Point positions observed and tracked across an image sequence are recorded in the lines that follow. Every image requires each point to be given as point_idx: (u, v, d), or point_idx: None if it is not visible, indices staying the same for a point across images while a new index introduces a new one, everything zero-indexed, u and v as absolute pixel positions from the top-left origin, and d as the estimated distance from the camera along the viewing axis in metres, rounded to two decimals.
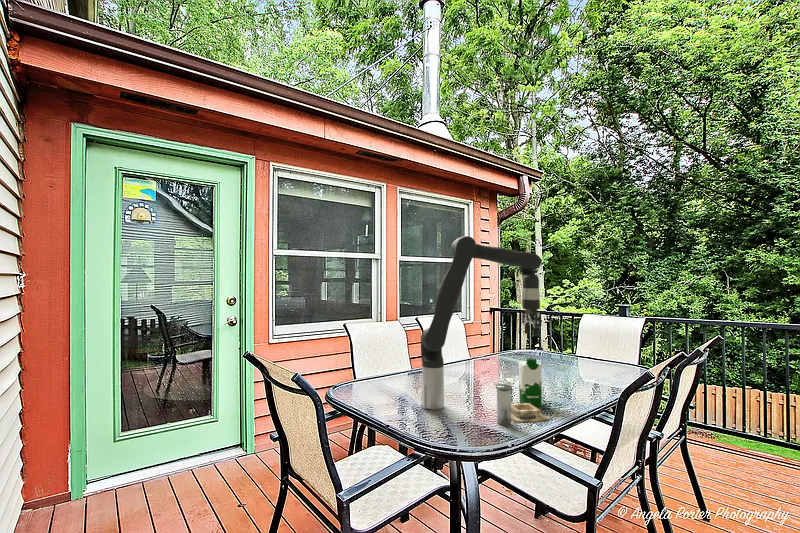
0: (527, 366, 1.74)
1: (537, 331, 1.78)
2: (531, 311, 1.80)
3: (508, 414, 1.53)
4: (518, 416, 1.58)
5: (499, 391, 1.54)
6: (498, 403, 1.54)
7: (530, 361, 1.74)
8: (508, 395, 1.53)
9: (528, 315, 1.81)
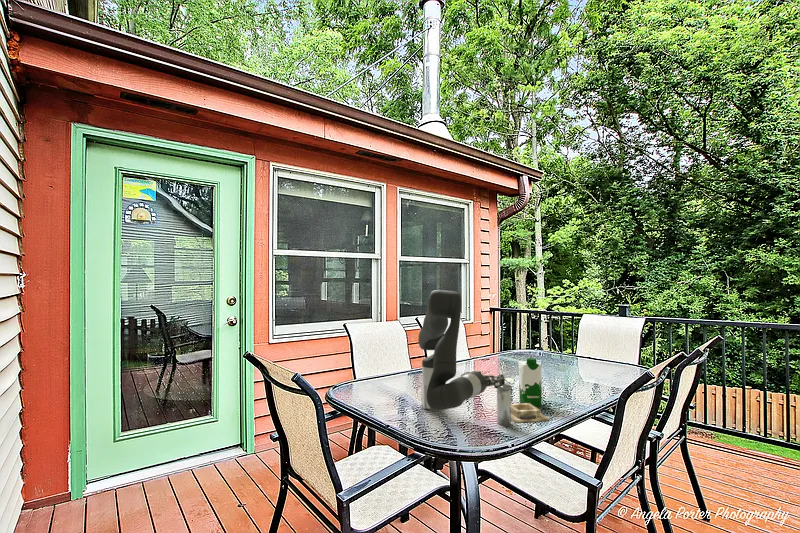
0: (527, 366, 1.74)
1: None
2: None
3: (508, 414, 1.53)
4: (518, 416, 1.58)
5: (499, 391, 1.54)
6: (498, 403, 1.54)
7: (530, 361, 1.74)
8: (508, 395, 1.53)
9: None
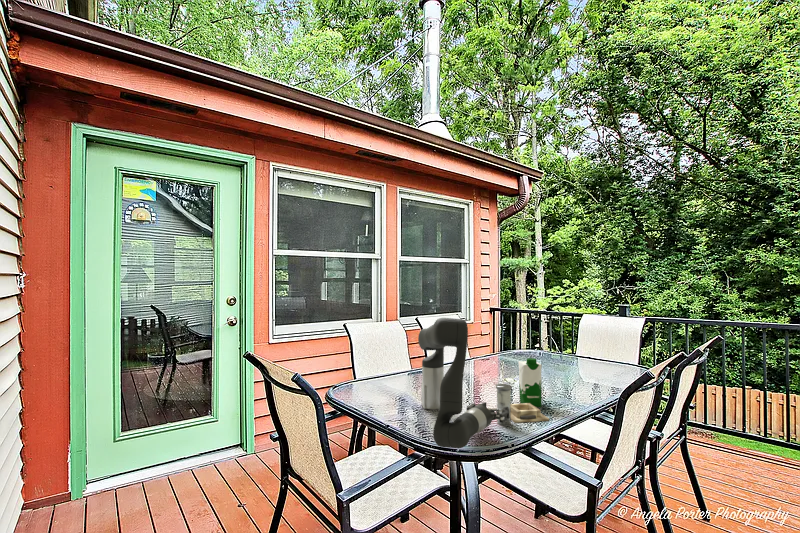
0: (527, 366, 1.74)
1: None
2: None
3: None
4: (518, 416, 1.58)
5: (499, 391, 1.54)
6: (498, 403, 1.54)
7: (530, 361, 1.74)
8: (508, 395, 1.53)
9: None
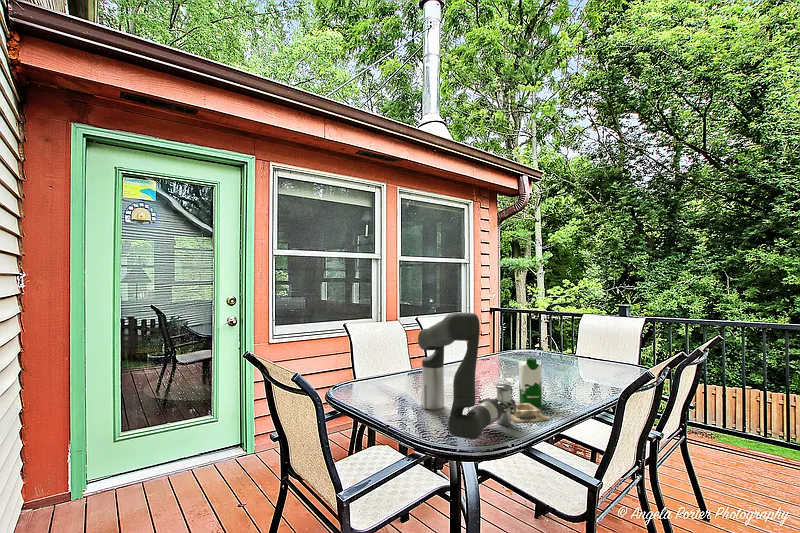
0: (527, 366, 1.74)
1: None
2: None
3: (508, 414, 1.53)
4: (518, 416, 1.58)
5: (499, 391, 1.54)
6: None
7: (530, 361, 1.74)
8: (508, 395, 1.53)
9: None
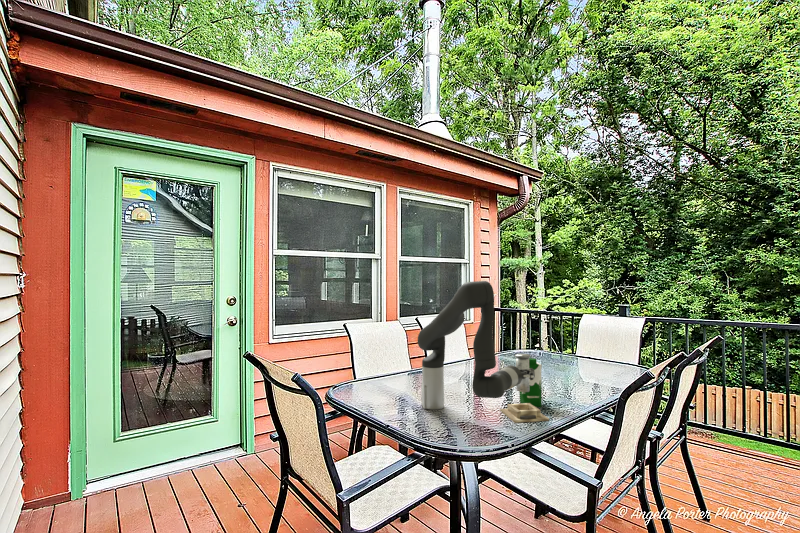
0: None
1: None
2: None
3: (527, 381, 1.61)
4: (518, 416, 1.58)
5: (518, 359, 1.62)
6: None
7: (530, 361, 1.74)
8: (527, 363, 1.61)
9: None
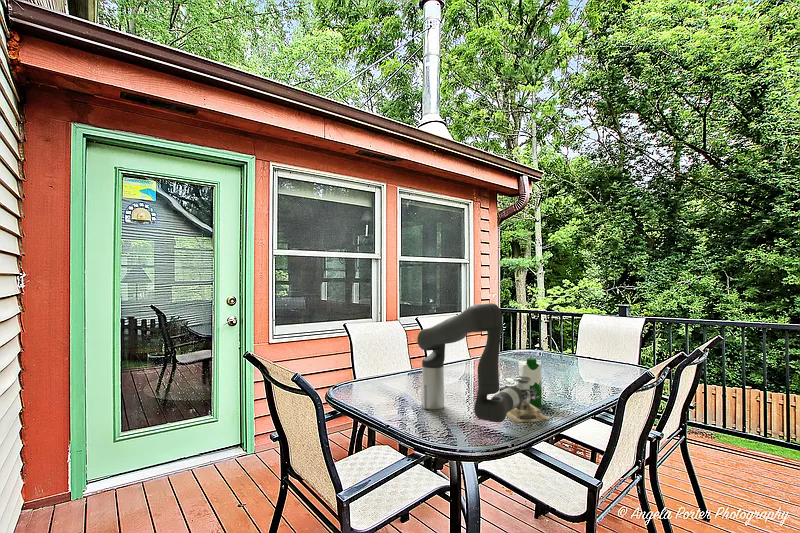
0: (527, 366, 1.74)
1: None
2: None
3: (527, 405, 1.61)
4: (518, 416, 1.58)
5: (519, 383, 1.62)
6: None
7: (530, 361, 1.74)
8: (527, 387, 1.61)
9: None
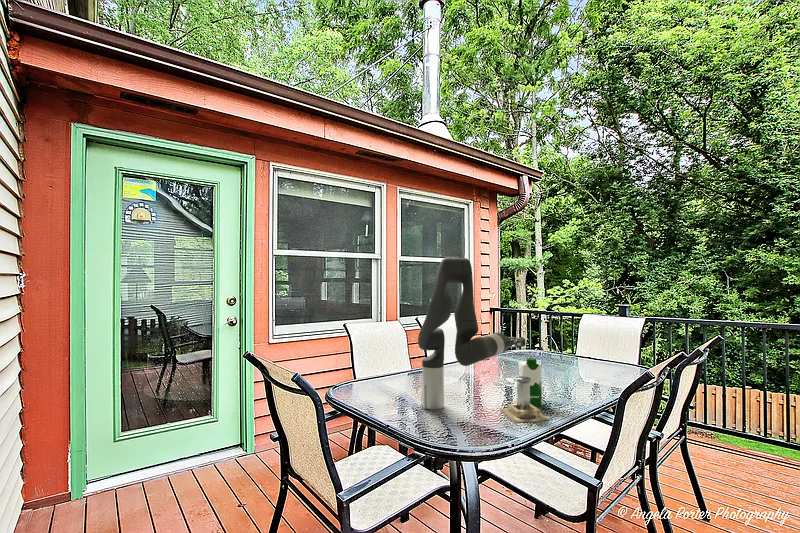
0: (527, 366, 1.74)
1: None
2: None
3: (528, 405, 1.61)
4: (518, 416, 1.58)
5: (519, 383, 1.62)
6: (518, 394, 1.62)
7: (530, 361, 1.74)
8: (528, 387, 1.61)
9: None
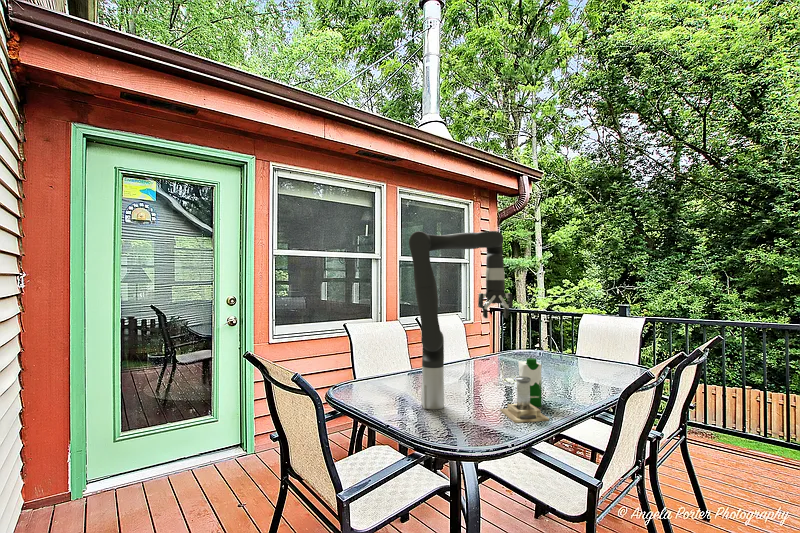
0: (527, 366, 1.74)
1: (483, 312, 1.70)
2: None
3: (528, 405, 1.61)
4: (518, 416, 1.58)
5: (519, 383, 1.62)
6: (518, 394, 1.62)
7: (530, 361, 1.74)
8: (528, 387, 1.61)
9: None
